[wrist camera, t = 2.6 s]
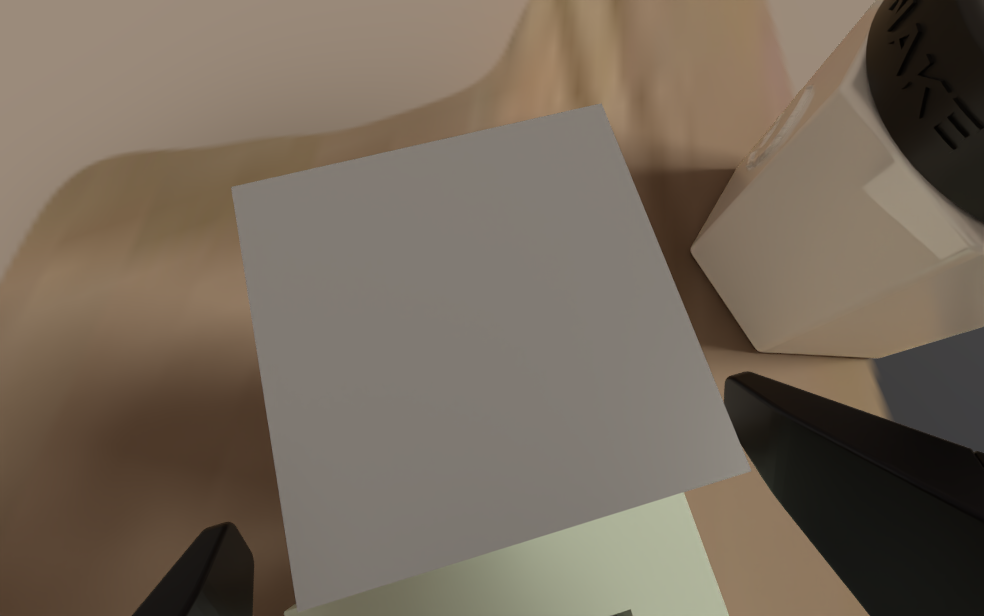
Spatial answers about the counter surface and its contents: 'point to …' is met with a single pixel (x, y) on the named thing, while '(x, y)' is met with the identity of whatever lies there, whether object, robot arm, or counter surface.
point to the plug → (469, 351)
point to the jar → (864, 195)
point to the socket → (565, 574)
